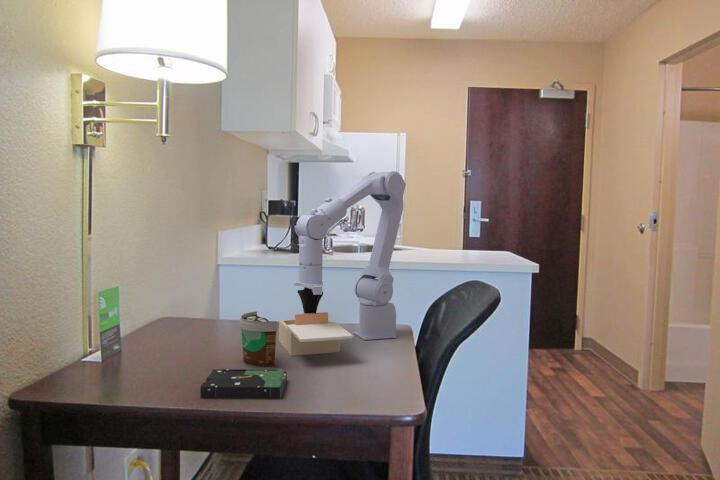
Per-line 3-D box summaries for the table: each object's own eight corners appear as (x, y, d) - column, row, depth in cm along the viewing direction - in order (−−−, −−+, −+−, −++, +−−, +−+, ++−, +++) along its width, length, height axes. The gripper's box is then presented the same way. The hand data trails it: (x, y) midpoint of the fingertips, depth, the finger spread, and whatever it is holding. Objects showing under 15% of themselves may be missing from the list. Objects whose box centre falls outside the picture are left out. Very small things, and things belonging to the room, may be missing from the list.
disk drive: (199, 401, 97) (282, 401, 98) (199, 386, 97) (282, 386, 97) (212, 382, 107) (287, 381, 108) (212, 368, 107) (287, 368, 108)
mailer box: (323, 337, 141) (324, 317, 141) (340, 351, 128) (340, 330, 128) (278, 340, 137) (279, 320, 137) (290, 355, 124) (291, 333, 124)
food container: (230, 356, 123) (230, 313, 122) (255, 352, 126) (255, 310, 125) (250, 371, 112) (250, 324, 112) (277, 367, 116) (277, 321, 115)
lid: (334, 324, 132) (334, 311, 132) (353, 338, 119) (353, 324, 119) (286, 327, 128) (286, 314, 128) (300, 342, 115) (300, 327, 115)
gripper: (288, 260, 136) (287, 313, 137) (301, 268, 122) (300, 326, 123) (315, 260, 138) (314, 312, 139) (331, 267, 125) (330, 324, 126)
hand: (309, 319), depth 131 cm, fingers closed
